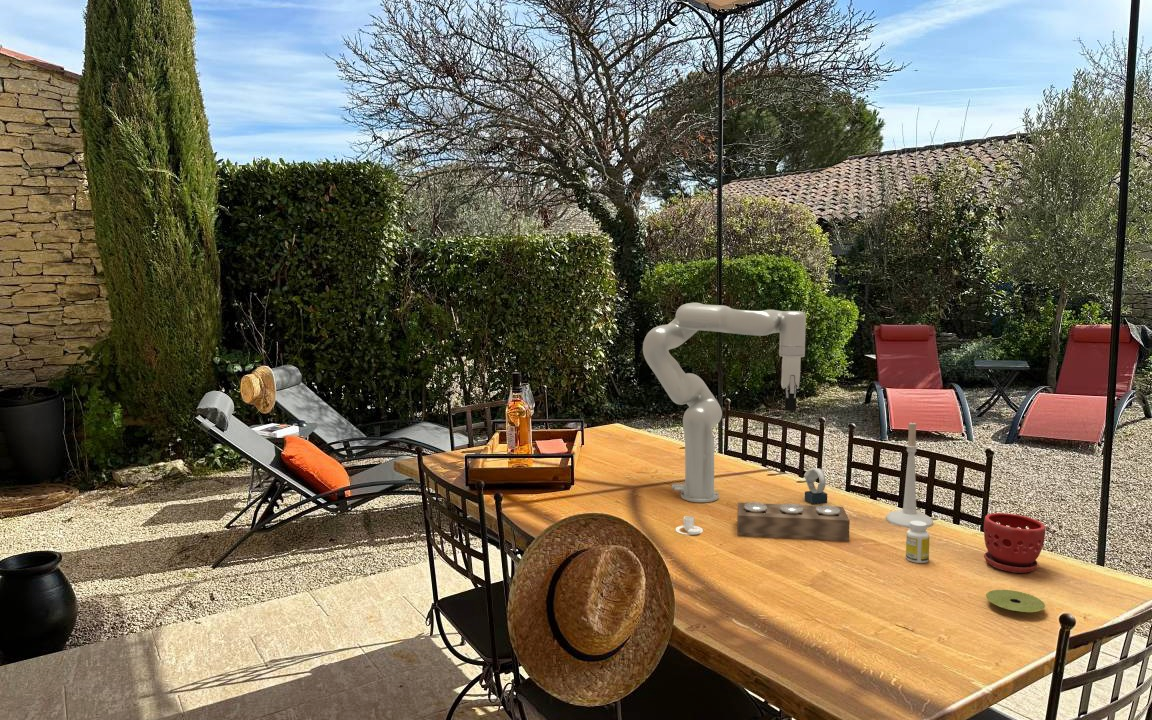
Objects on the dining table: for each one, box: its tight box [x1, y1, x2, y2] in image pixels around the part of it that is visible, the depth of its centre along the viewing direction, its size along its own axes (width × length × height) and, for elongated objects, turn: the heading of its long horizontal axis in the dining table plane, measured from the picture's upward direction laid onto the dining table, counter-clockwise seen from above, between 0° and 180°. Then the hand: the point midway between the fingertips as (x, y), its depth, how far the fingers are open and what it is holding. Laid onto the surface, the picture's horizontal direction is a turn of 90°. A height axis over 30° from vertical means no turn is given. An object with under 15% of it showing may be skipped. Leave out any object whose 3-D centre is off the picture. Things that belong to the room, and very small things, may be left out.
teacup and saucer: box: [675, 515, 704, 536], centre depth 216 cm, size 9×8×4 cm
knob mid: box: [780, 503, 803, 514], centre depth 214 cm, size 6×6×5 cm
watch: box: [803, 467, 828, 506], centre depth 240 cm, size 6×8×11 cm
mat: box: [985, 589, 1046, 613], centre depth 164 cm, size 11×11×2 cm
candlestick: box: [885, 421, 934, 529], centre depth 219 cm, size 13×13×30 cm
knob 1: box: [744, 502, 767, 513], centre depth 216 cm, size 6×6×5 cm
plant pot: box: [983, 512, 1046, 574], centre depth 186 cm, size 13×13×12 cm
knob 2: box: [816, 504, 840, 516], centre depth 212 cm, size 6×6×5 cm
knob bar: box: [736, 502, 851, 542], centre depth 214 cm, size 30×12×6 cm, turn 79°
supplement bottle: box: [905, 521, 930, 564], centre depth 191 cm, size 5×5×10 cm
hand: (790, 410), depth 230 cm, fingers closed
